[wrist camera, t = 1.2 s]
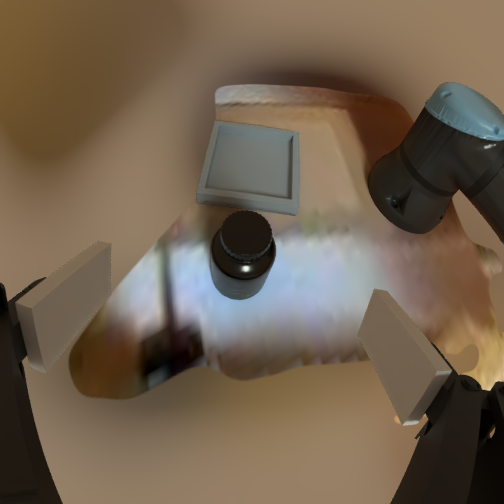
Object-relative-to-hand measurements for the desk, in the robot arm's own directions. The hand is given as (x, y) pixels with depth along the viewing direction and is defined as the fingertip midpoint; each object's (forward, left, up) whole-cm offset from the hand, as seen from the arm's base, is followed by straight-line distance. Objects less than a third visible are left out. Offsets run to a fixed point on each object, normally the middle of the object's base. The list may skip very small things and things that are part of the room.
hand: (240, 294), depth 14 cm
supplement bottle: (0, -9, -23) cm, 25 cm away
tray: (0, -27, -23) cm, 35 cm away
